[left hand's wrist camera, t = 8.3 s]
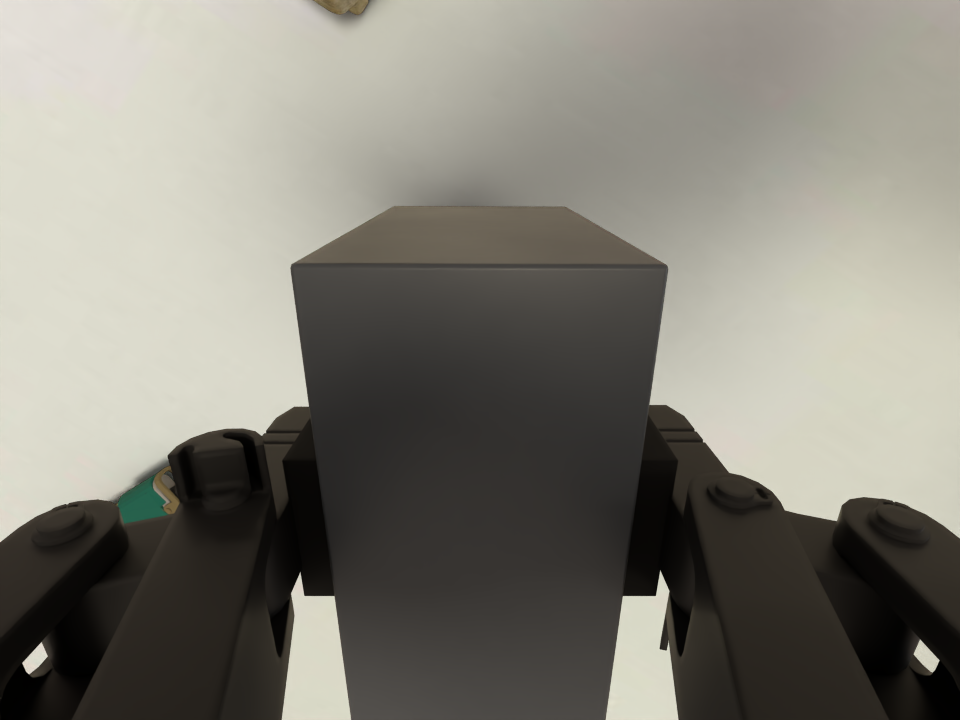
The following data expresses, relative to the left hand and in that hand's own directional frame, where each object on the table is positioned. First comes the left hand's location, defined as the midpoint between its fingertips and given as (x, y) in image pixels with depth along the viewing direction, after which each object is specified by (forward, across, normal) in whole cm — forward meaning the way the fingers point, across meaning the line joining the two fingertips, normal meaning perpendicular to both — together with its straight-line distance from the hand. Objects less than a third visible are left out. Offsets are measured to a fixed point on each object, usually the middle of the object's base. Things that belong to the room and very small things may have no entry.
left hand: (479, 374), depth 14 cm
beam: (+1, 0, -28) cm, 28 cm away
